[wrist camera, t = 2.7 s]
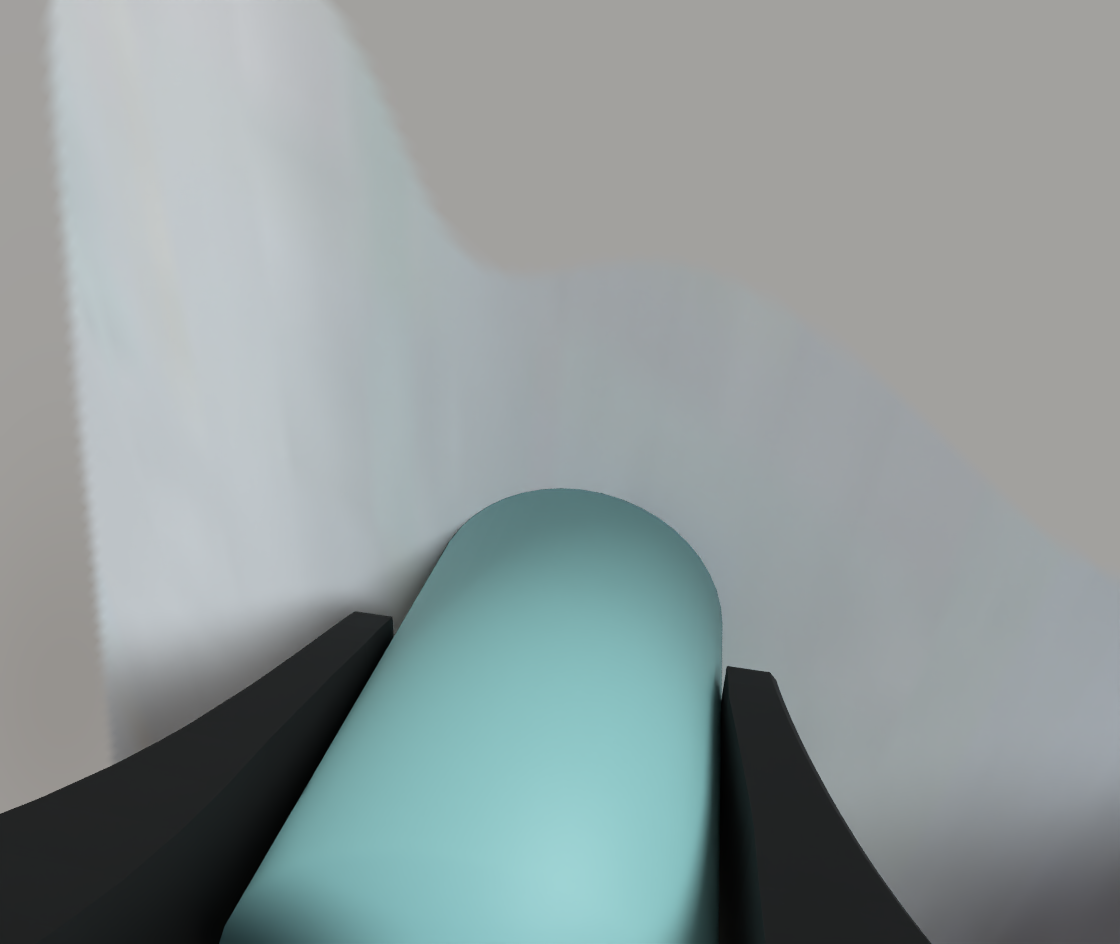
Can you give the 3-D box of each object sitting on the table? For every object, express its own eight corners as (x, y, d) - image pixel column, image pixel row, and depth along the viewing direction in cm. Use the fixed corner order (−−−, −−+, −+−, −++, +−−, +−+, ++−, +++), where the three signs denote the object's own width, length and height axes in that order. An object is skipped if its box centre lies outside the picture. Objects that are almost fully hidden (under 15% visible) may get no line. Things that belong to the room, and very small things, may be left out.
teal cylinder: (741, 509, 13) (754, 916, 7) (703, 752, 15) (685, 1227, 9) (429, 471, 14) (181, 807, 8) (436, 709, 16) (249, 1122, 10)
